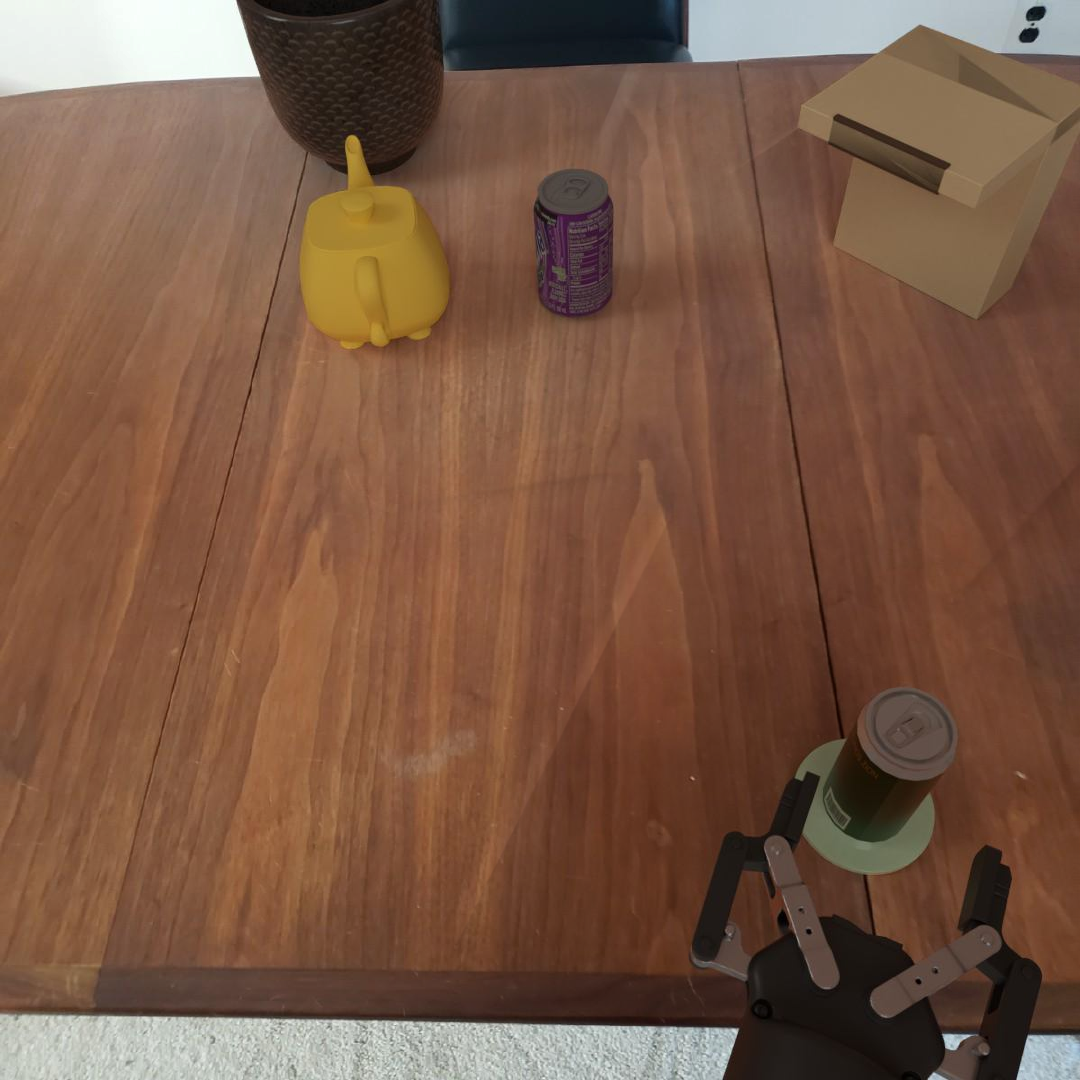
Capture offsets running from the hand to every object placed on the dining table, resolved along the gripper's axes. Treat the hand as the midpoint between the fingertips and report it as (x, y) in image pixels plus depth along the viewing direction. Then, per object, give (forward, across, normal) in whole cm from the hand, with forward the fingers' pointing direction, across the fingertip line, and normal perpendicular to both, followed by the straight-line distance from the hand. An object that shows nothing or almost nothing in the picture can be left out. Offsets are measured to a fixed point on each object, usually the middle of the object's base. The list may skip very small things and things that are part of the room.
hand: (896, 814), depth 47 cm
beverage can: (+45, +38, +16) cm, 61 cm away
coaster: (+7, 0, +16) cm, 18 cm away
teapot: (+37, +55, +16) cm, 68 cm away
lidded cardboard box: (+59, +10, +17) cm, 62 cm away
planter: (+59, +70, +16) cm, 93 cm away
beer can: (+7, 0, +16) cm, 17 cm away
